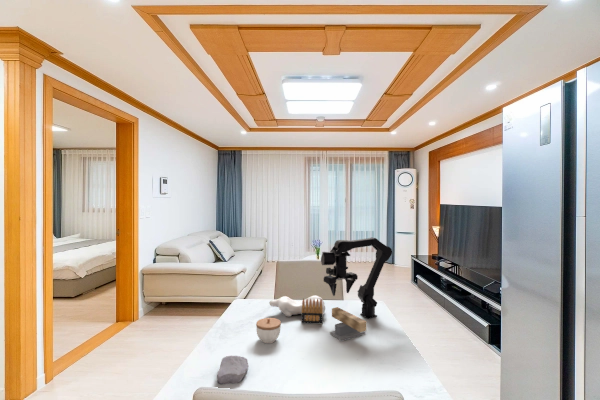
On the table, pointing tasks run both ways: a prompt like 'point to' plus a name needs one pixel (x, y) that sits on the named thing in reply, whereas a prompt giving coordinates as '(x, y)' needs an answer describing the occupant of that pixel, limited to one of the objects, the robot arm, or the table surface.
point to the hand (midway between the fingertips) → (340, 294)
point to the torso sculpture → (294, 305)
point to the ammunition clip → (312, 312)
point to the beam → (349, 319)
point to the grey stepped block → (345, 332)
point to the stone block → (232, 369)
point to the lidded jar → (268, 329)
